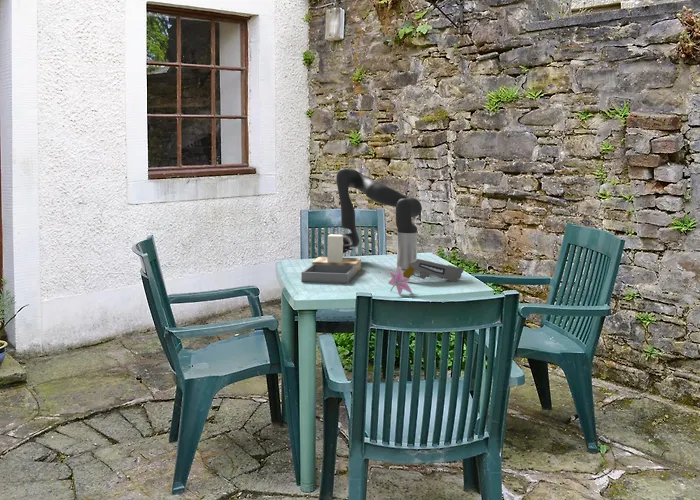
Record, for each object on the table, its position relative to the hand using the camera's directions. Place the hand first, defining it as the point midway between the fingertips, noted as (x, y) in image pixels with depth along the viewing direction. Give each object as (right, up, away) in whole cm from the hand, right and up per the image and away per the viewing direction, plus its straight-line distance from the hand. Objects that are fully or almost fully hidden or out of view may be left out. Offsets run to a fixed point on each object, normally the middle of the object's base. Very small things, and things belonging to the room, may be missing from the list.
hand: (336, 249), depth 344 cm
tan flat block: (0, -10, +3) cm, 10 cm away
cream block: (-1, -5, -2) cm, 6 cm away
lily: (+25, -17, -46) cm, 56 cm away
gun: (+42, -14, -20) cm, 48 cm away
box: (-3, -12, -16) cm, 20 cm away
